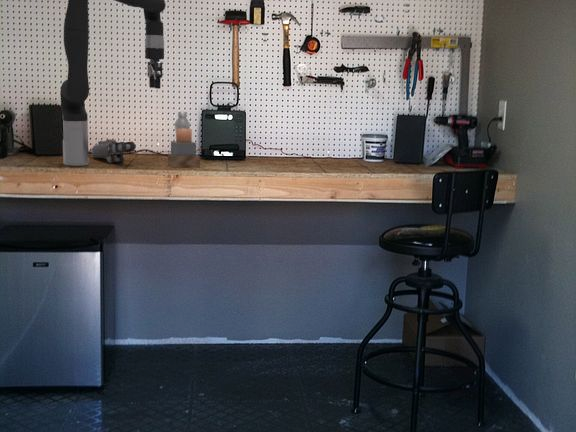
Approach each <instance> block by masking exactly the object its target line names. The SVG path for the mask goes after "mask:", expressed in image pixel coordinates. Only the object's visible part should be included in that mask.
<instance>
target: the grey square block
mask: <svg viewBox="0 0 576 432" xmlns="http://www.w3.org/2000/svg"><path fill="white" fill-rule="evenodd" d="M170 154H173V155H175V156H196V155H197V143H196V142H194V141H192V142H191V143H178V142H176V140H175V141H173V140H171V141H170Z"/></svg>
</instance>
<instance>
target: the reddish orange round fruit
mask: <svg viewBox="0 0 576 432" xmlns="http://www.w3.org/2000/svg"><path fill="white" fill-rule="evenodd" d="M192 135H193V134H192V128H190V129H176V131H175V141H176V142H178V143H191V142H193V141H192V140H193V139H192V137H193V136H192Z"/></svg>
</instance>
